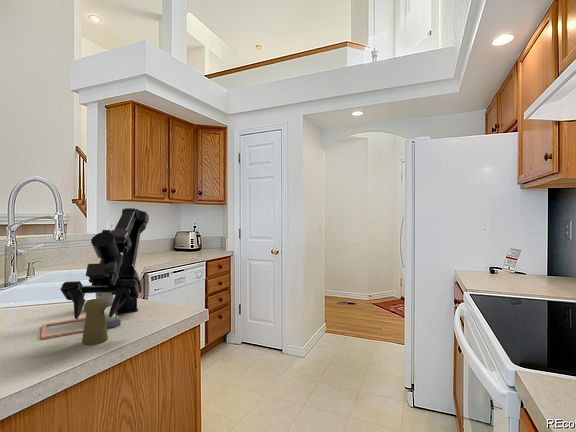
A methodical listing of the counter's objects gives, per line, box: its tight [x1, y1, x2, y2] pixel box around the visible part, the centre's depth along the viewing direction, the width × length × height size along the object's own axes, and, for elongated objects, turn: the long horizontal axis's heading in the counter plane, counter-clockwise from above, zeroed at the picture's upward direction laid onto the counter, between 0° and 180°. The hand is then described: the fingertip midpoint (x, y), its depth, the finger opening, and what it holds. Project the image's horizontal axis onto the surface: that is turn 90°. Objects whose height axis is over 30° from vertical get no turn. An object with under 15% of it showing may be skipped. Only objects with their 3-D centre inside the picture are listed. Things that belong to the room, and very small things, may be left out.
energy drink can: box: [95, 293, 115, 307], centre depth 119 cm, size 6×6×15 cm
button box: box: [106, 314, 121, 329], centre depth 96 cm, size 5×5×2 cm
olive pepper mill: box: [81, 298, 109, 346], centre depth 84 cm, size 6×6×11 cm
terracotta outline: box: [40, 316, 86, 341], centre depth 94 cm, size 13×13×1 cm
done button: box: [105, 312, 116, 321], centre depth 96 cm, size 3×3×2 cm
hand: (93, 317), depth 83 cm, fingers open, 8 cm apart
